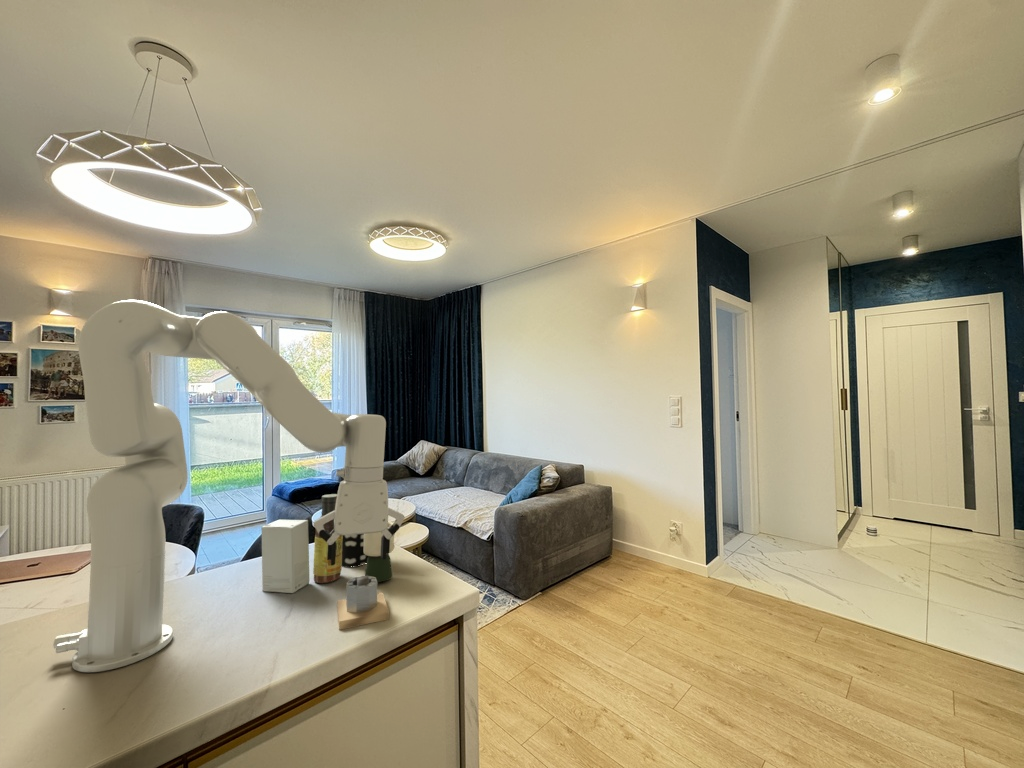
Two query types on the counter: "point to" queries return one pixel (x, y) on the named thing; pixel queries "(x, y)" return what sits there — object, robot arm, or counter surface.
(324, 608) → the counter surface
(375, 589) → the tube
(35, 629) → the counter surface
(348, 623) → the shaft stand
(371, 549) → the character mug
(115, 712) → the counter surface
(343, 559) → the white-spotted black cylinder
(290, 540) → the skincare box
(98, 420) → the robot arm
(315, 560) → the sauce bottle
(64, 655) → the counter surface
